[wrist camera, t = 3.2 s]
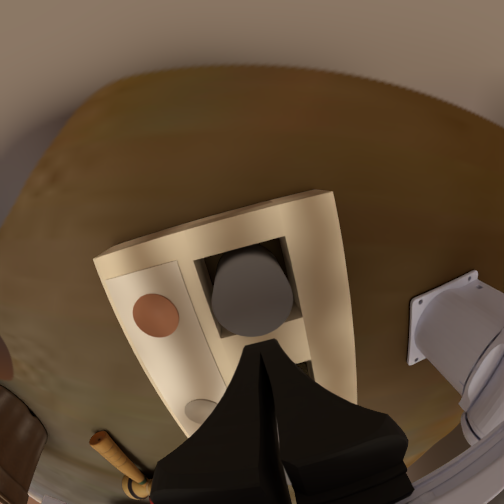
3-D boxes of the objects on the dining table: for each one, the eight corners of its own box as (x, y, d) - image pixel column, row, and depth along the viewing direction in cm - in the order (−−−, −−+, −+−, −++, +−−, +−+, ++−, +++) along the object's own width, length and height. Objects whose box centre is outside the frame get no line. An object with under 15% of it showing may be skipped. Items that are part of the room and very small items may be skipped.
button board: (315, 189, 18) (335, 191, 15) (347, 430, 26) (357, 454, 22) (113, 245, 18) (90, 260, 15) (223, 459, 26) (223, 484, 22)
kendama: (84, 427, 25) (161, 499, 28) (69, 455, 19) (159, 527, 21) (125, 414, 26) (201, 490, 29) (113, 446, 20) (204, 520, 22)
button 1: (271, 236, 18) (283, 253, 14) (285, 294, 20) (299, 325, 15) (208, 253, 18) (200, 275, 14) (226, 310, 20) (225, 344, 15)
